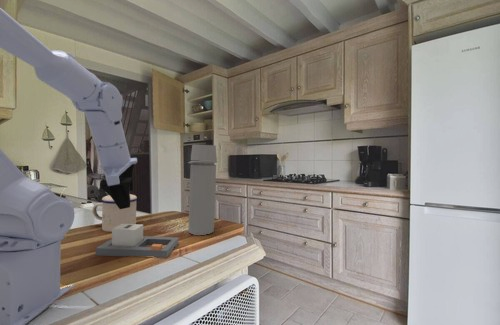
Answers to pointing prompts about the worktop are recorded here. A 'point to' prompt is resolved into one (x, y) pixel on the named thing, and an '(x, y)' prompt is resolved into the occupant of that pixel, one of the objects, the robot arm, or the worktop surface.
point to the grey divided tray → (140, 247)
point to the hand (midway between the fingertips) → (126, 198)
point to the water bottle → (202, 189)
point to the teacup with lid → (115, 213)
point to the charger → (127, 235)
